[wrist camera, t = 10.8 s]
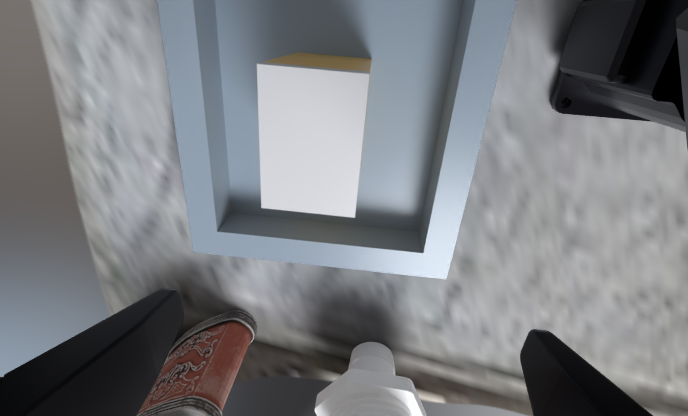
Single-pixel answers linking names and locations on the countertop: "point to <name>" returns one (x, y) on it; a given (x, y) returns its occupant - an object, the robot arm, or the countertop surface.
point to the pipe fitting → (370, 387)
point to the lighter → (202, 367)
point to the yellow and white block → (312, 131)
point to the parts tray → (379, 135)
